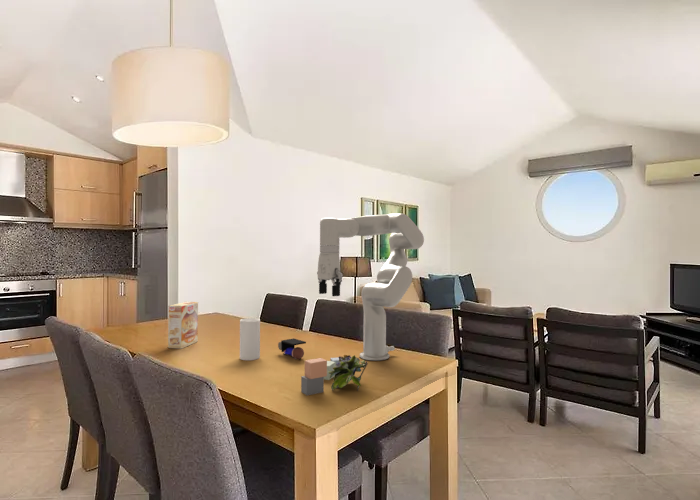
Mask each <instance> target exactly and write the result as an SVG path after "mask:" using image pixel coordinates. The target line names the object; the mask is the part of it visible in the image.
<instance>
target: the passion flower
mask: <svg viewBox="0 0 700 500" xmlns="http://www.w3.org/2000/svg"><path fill="white" fill-rule="evenodd" d="M338 357H339V361H340V362H338V364H336V366H334V367H333V371H331V372H329V374H331V375H330V378H331V377H332V376H333V375H335V376H334V377H333V378H331V379H333V382H331V386H330V387H331V391H334V390H336V389H338V388H339V389H342V388H344V387H345V386H347V385H348V384H349V383H350V382H351V381H352V382H353V383H354V384H355V385H356V386H357V388H356V389H357V390H356V391H359V389H360V388H359V387H361V379H362V376H363V374H364V371H365V370H366V368H367V367H368V364H369V362H368V360H365V359H362V361H361V360H360V357H357V356H356V355H352V356H351V355H350V354H349V355H347V354H344V355H343V356H338ZM341 359H342V360H341ZM362 368H363V369H362ZM356 372H357V373H360V375H359V376H355V375H356Z"/></svg>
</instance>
